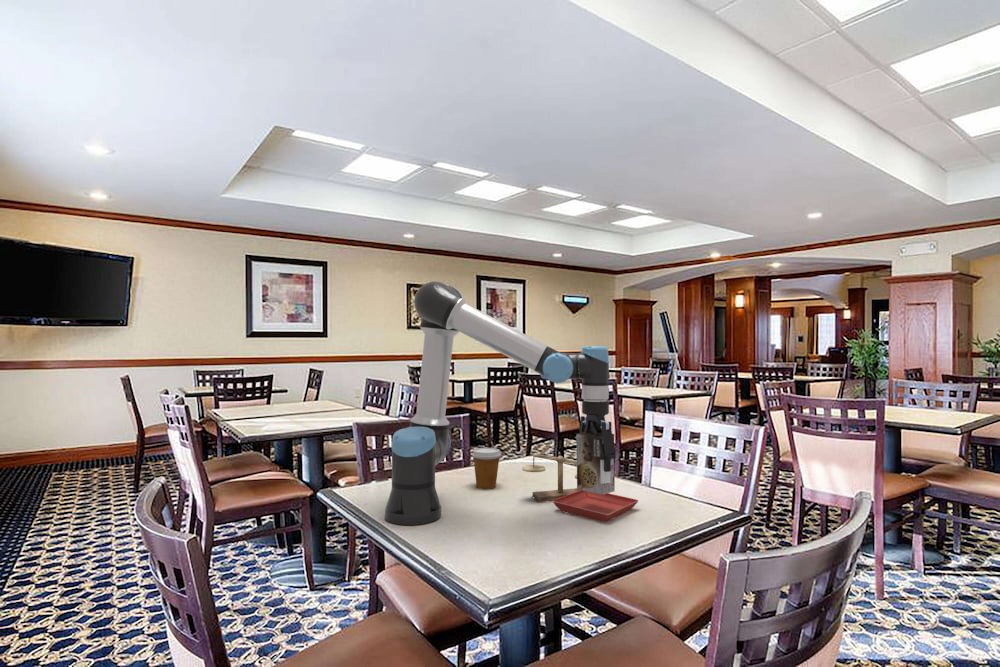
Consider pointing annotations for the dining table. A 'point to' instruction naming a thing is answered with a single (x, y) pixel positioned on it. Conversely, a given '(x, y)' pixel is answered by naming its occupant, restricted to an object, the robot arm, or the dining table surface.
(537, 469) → the balance
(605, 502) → the plant saucer
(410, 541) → the dining table surface
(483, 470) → the disposable coffee cup
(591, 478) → the coffee box
